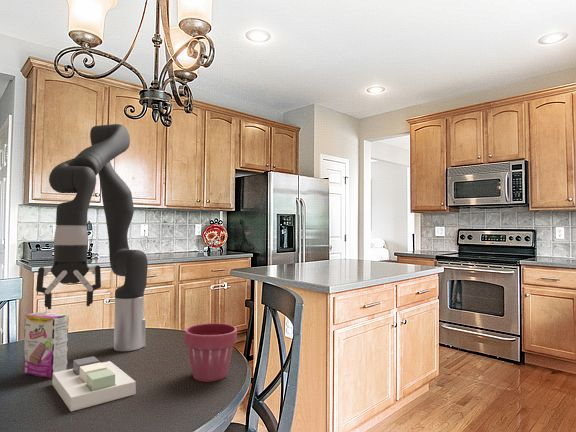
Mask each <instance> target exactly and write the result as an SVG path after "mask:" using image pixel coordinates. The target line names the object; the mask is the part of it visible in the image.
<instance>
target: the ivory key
mask: <svg viewBox="0 0 576 432" xmlns="http://www.w3.org/2000/svg"><path fill="white" fill-rule="evenodd" d="M102 363H103V362H100V361H99V363H95V364H90V365H85V366H80V374H79V378H80V380H81V381H82V382H83V383H86V380H87V373H92V372H97V371H101V370H106V369H107V367H106V366H105V365H104V364H102Z"/></svg>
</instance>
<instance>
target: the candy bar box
mask: <svg viewBox="0 0 576 432" xmlns="http://www.w3.org/2000/svg"><path fill="white" fill-rule="evenodd" d="M23 334H24V337H23V338H24V341H23V342H24V343H23V346H24V347H23V372H22V373H23V374H24V375H29V376H34V377H35V376H36V377H41V378H47V379H52V380H53V373H54V372H59V371H64V370H68V355H69V354H68V351H69V350H68V347H69V345H68V344H69V314H65V313H56V312H46V311H37V312H32V313H26V314H24V333H23Z"/></svg>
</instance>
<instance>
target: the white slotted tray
mask: <svg viewBox="0 0 576 432" xmlns="http://www.w3.org/2000/svg"><path fill="white" fill-rule="evenodd" d="M101 363H102V364H104V365H105V366H106V367H107V369H110V370H111V371H112V372H113V373H114V374H115V386H111V387H107V388H103V389H99V390H95V391H90V390H89V388H88V387H87V386H86V383H83V382H82V381H81V380H80V378H79V375H76V374H75V373H74V372H73V368H70V369H67V370H64V371H59V372H54V373H53V379H52V384H51V385H52V387H53V388H54V390H55V391H56V392H57V394H58V395H59V396H60V398H61V399H62V400H63V402H64V404H65V406H66V407H67V408H68V409H69V411H70V412H75V411H77V410H82V409H86V408H89V407H93V406H96V405H100V404H104V403H108V402H112V401H115V400H118V399H119V400H120V399H122V398H123V399H124V398H126V397H131V396H133V395H136V393H137V382H136V380H134V379H133V378H132V377H131V376H129V374H127V373H126V372H124V371H123V370H122V369H120V368H119V367H118V366H117V365H116V364H114V363H113V362H112V361H110V360H108V361H103V362H101Z"/></svg>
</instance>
